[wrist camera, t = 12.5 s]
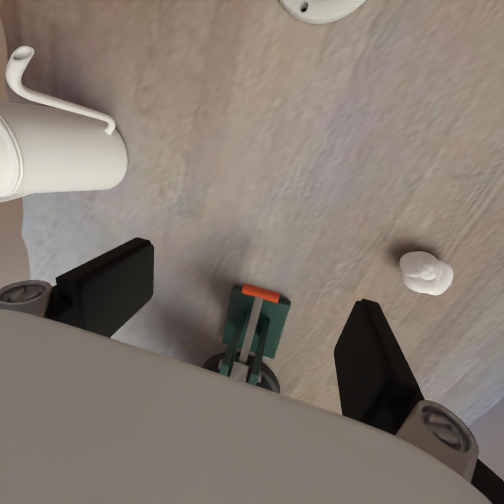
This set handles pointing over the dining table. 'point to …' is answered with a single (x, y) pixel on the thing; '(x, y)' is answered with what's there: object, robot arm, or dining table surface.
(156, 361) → the robot arm
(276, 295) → the switch lever
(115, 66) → the dining table surface
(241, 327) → the switch bracket
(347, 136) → the dining table surface
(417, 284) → the dumpling
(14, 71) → the coffeepot
